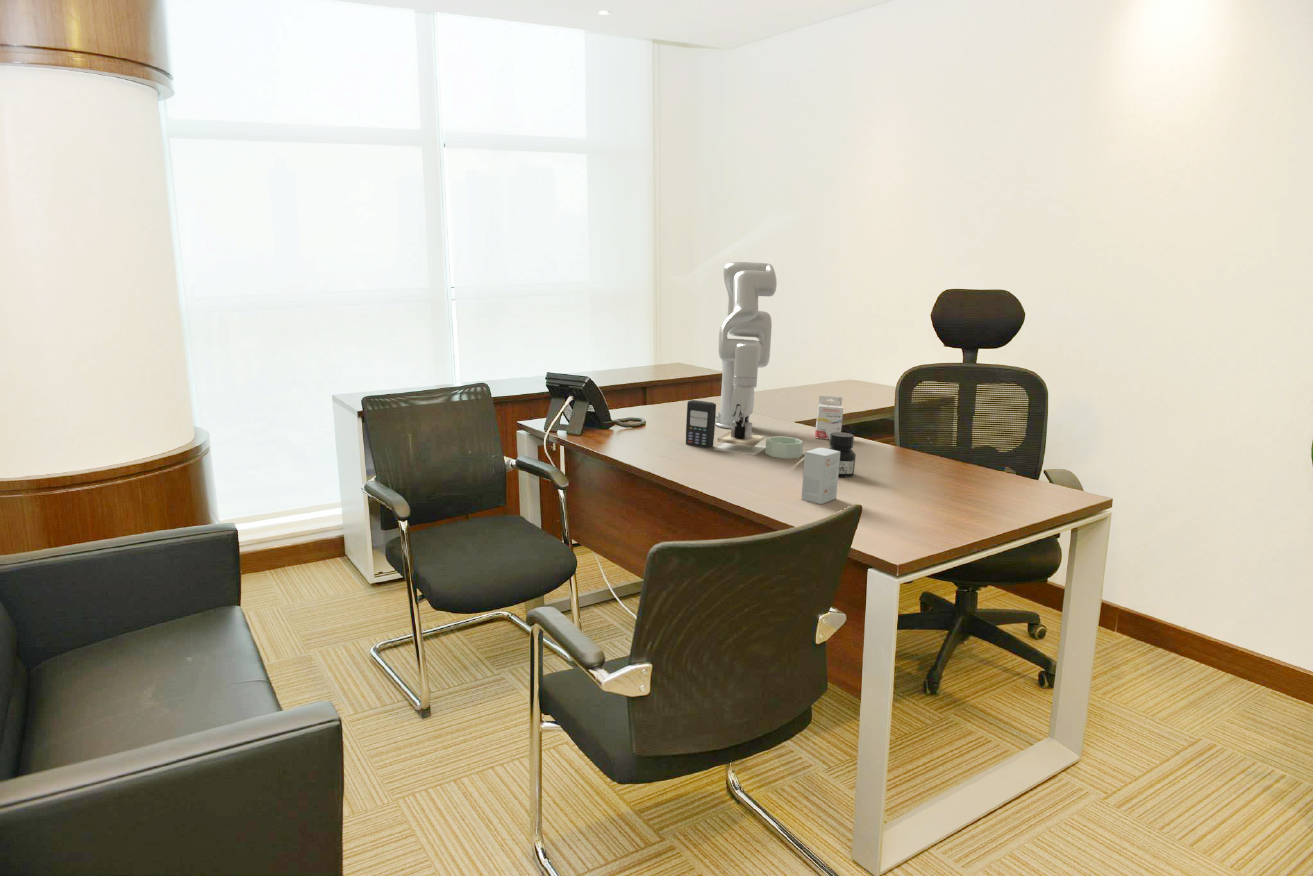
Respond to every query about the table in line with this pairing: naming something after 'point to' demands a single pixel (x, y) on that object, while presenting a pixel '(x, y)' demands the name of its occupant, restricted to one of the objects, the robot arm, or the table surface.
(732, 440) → the lid
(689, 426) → the card reader
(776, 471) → the table surface
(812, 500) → the small box
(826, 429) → the ink cartridge box
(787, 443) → the bowl
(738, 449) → the mat
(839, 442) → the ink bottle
